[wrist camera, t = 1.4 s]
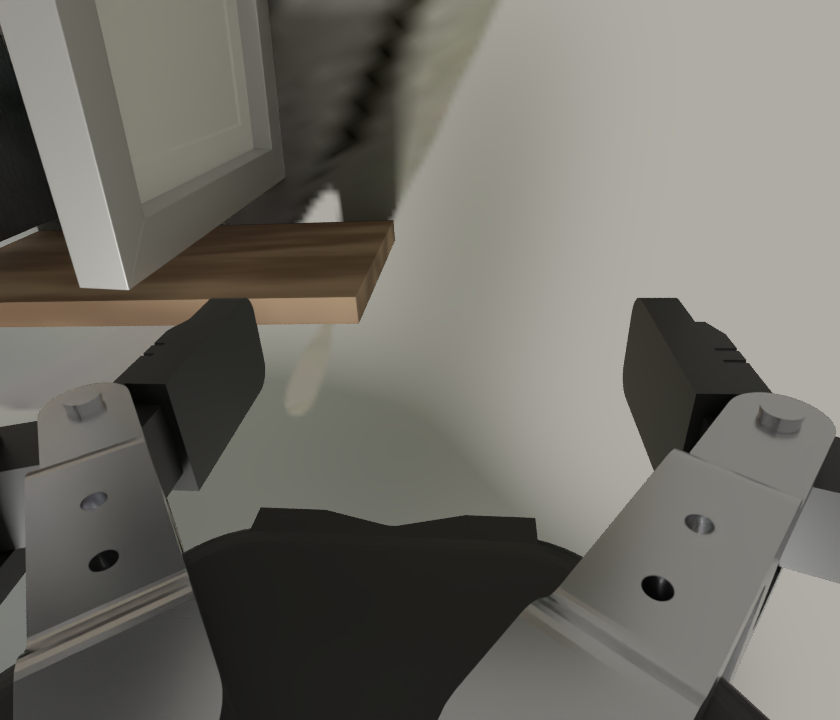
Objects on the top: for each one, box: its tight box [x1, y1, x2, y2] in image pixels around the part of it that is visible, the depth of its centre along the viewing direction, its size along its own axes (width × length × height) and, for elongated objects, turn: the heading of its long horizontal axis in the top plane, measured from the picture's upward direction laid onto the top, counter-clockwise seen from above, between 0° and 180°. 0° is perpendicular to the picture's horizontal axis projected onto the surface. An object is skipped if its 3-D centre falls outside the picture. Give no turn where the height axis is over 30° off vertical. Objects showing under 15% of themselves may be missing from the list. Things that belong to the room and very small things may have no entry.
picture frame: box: [0, 0, 286, 290], centre depth 28 cm, size 16×3×21 cm, turn 179°
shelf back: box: [0, 220, 395, 327], centre depth 37 cm, size 2×28×14 cm, turn 93°
